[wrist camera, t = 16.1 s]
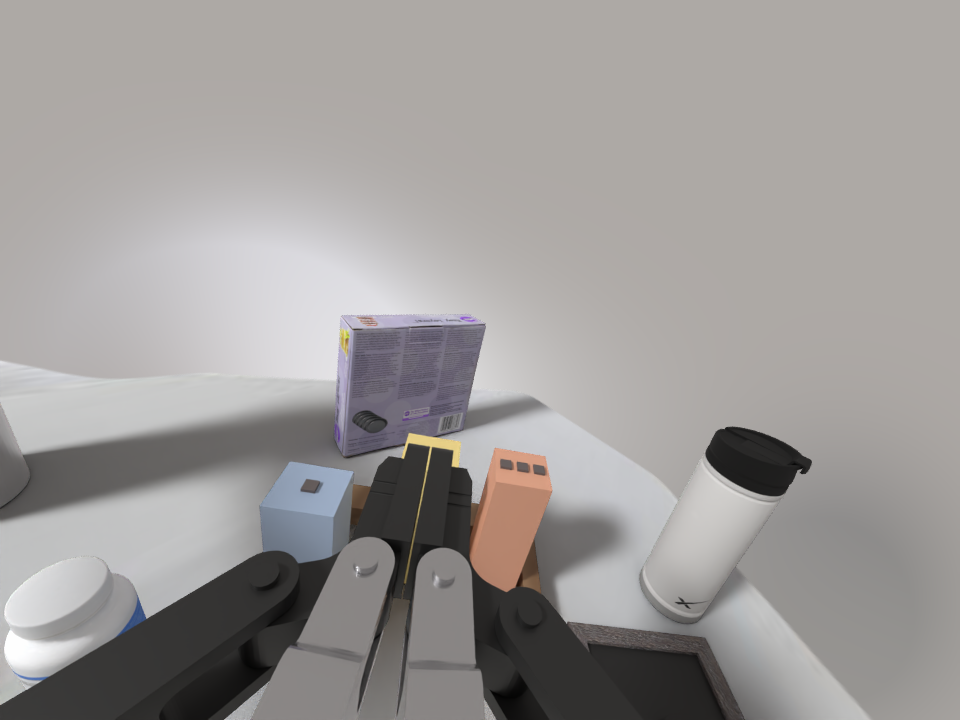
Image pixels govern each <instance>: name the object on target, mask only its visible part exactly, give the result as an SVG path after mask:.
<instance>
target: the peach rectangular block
mask: <svg viewBox="0 0 960 720" xmlns="http://www.w3.org/2000/svg"><path fill="white" fill-rule="evenodd" d="M551 493H552V486H551V482H550V477H549V472H548V467H547V463H546V458H545V456H540V455H534V454H528V453H522V452H516V451H510V450H504V449H498V448H495V449H494V453H493V457H492V460H491V464H490V467H489V471H488V475H487V478H486V482H485V486H484V489H483V493H482V496H481V500H480V504H479V507H478V511H477V514H476V518H475V522H474V525H473V529H472V532H471V536H470V546H469V556H470V561H471V563H472V566H473V568H474V570H475V571H476V572H477V574H478V575H479V576H480V577H481V578H482V579H484V580H485V581H486V582H488V583H490V584H491V585H493V586H495V587H497V588H499V589H501V590H503V591H505V592H508V591H509V590H511V589H513V588H515V586H516V584H517V581H518V578H519V576H520V573H521V571H522V568H523V566H524V563H525V560H526V558H527V555H528V553H529V550H530V547H531V545H532V542H533V540H534V537H535V535H536V532H537V529H538V527H539V524H540V522H541V519H542V517H543V514H544V511H545V509H546V506H547V504H548V501H549V499H550V496H551Z"/></svg>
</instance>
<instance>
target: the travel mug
mask: <svg viewBox="0 0 960 720" xmlns="http://www.w3.org/2000/svg"><path fill="white" fill-rule="evenodd" d="M811 463H812V461H811V460H810V459H808V458H806V457H804V456H802V455H801V454H800V453H799V452H798V451H797V450H795V449H794V448H793V447H791V446H789V445H788V444H786V443H784V442H782V441H780V440H778V439H776V438H773V437H771V436H769V435H766V434H763V433H760V432H757V431H754V430H750V429H745V428H740V427H726V428H725V429H720V430H718V431H717V432H716V433H715V435H714V437H713V438H712V440H711V443H710V445H709V446H708V448H707V449H706V450H705V452H704V454H703V457H702V458H701V459H700V461H699V463H698V465H697V467H696V469H695V470H694V473H693V474H692V476H691V478H690V480H689V482H688V484H687V486H686V488H685V489H684V491H683V493H682V495H681V497H680V499H679V500H678V502H677V504H676V506H675V508H674V510H673V512H672V514H671V515H670V517H669V519H668V521H667V523H666V525H665V527H664V529H663V530H662V532H661V534H660V536H659V538H658V540H657V542H656V544H655V545H654V547H653V549H652V551H651V553H650V555H649V557H648V559H647V561H646V563H645V564H644V566H643V568H642V570H641V572H640V577H639V580H640V585H641V588H642V591H643V593H644V594H645V596H646V598H647V599H648V601H649V602H650V603H651V604H652V605H653V606H654V607H655V608H656V609H657V610H658V611H659V612H660V613H662V614H663V615H665V616H666V617H668V618H670V619H672V620H674V621H676V622H679V623H685V624H688V623H694V622H697V621H698V620H699V619H700V618H701V616H702V615H703V613H704V612H705V610H706V609H707V608H708V606H709V605H710V603H711V602H712V600H713V599H714V597H715V596H716V594H717V593H718V591H719V590H720V589H721V587H722V586H723V584H724V583H725V581H726V580H727V578H728V577H729V575H730V574H731V572H732V571H733V570H734V568H735V567H736V565H737V564H738V562H739V561H740V559H741V558H742V556H743V555H744V553H745V552H746V550H747V549H748V548H749V546H750V545H751V543H752V542H753V540H754V539H755V537H756V536H757V534H758V533H759V532H760V530H761V529H762V527H763V526H764V524H765V523H766V521H767V520H768V518H769V517H770V515H771V514H772V513H773V511H774V510H775V508H776V507H777V505H778V504H779V502H780V500H781V498H782V497H783V496H784V495H785V493H786V490H787V489H788V487H789V485H790V484H791V483H792V482H793V480H794V478H795V475H796V473H797V470H799V469H802V468H803V469H802V471H801V472H800V473H801V474H806V473H807V472H808V470H809V469H810V466H811Z"/></svg>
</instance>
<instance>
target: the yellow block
mask: <svg viewBox="0 0 960 720" xmlns="http://www.w3.org/2000/svg"><path fill="white" fill-rule="evenodd" d="M408 443H412V444H418V445H424V446H430V451H429V456H428V462H427V467H426V473H425V478H424V484H423V489H422V494H421V499H420V504H419V509H418V514H417V519H416V524H415V529H414V534H413V539H412V544H411V549H410V554H409V559H408V564H407V569H406V574H405V579H404V584H406V580H407V575H408V569H409V564H410V558H411V553H412V548H413V542H414V537H415V532H416V527H417V522H418V517H419V511H420V506H421V501H422V496H423V491H424V486H425V481H426V476H427V471H428V465H429V460H430V455H431V450H432V447H437V448H443V449H449V450H453V460H452V467H458V468H459V457H460V446H461V442H459V441H453V440H447V439H441V438H435V437H429V436H423V435H418V434H412V433H409V434H408V438H407V441H406V445H405V448H404V451H403V455H402V458H403V459H404V457H405V453H406V450H407V446H408Z"/></svg>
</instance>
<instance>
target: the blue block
mask: <svg viewBox="0 0 960 720" xmlns="http://www.w3.org/2000/svg"><path fill="white" fill-rule="evenodd" d="M353 476H354V472H353V471H347V470H341V469H334V468H328V467H322V466H316V465H309V464H303V463H297V462H291V461H290V462H289V464H288V465H287V467H286V468H285V470H284V471H283V472H282V474H281V475H280V477H279V478H278V480H277V481H276V483H275V484H274V486H273V487H272V489H271V490H270V491H269V493H268V494H267V496H266V497H265V499H264V500H263V502H262V503H261V505H260V517H261V529H262V541H263V552H266V551H284V552H286V553H289V554H290V555H292V556H293V557H294V558H295V559H296V561H297V562H298V563H304V562H310V561H316V560H321V559H325V558H328V557H331V556H333V555H335V554H337V553H338V552H340V551H341V550H342V549H343V548H344V547H345V546H346V545H347V544H348V543H349V534H350V519H351V505H352V490H353Z"/></svg>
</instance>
